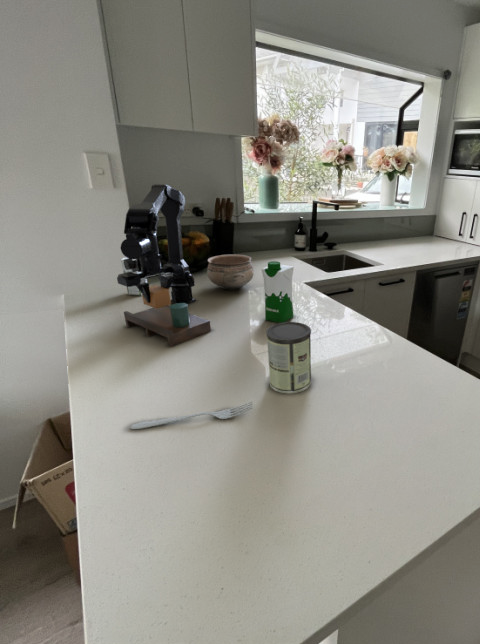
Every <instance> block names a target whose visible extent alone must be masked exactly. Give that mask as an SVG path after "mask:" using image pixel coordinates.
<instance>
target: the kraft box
mask: <svg viewBox="0 0 480 644" xmlns="http://www.w3.org/2000/svg"><path fill="white" fill-rule="evenodd" d="M149 290H150V303H148V302H147V301H146V299H145V298H144V296H143V295H141V296H142V301H143V305H146V306H148V307H151V308H156V309H157V308H161V307H164V306H167V305H168V306H171V305H172V302H171V300H172V299H171V295H170V294H171V293H170V288H169V289H166V288H163V287H161V285H160V286H159V285H157V284H154V285H151V286H150V285H149Z"/></svg>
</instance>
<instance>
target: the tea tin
mask: <svg viewBox="0 0 480 644" xmlns="http://www.w3.org/2000/svg"><path fill="white" fill-rule="evenodd" d="M188 305H189V304H188V303H187V304H186V303H173V304H170V305H169V306H170V312H171V319H172V325H173V326H174V327H185V326H188V325H189V324H190V318H189V313H190V311H189V306H188Z"/></svg>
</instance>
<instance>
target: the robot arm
mask: <svg viewBox="0 0 480 644" xmlns="http://www.w3.org/2000/svg"><path fill="white" fill-rule="evenodd" d="M185 205H186V197H185V196H184V195H183V193H182V192H181V191H180V190H177V189H175V188H173V187H171V186H170V185H168V184H159V183H158V184H157V183H156V184H152V185H151V188H150V191H149V192H148V193H147V195H146V196H145V197H144V198H143V200H142V201H141V202H140V203H137V204H134V205H132V206H130V207H129V208H128V209H127V212H126V214H125V221H124V228H123V234H124V235H125V239H123V241H122V242H121V243H120V247H119V248H120V251H121V253H122V255H123V256H124V258H125V257H127V258H129V259H124V260H123V261H124V266H125V269H126V270H130V269H132V272H136V271H137V272H142V273H139V274H135V273H132V272H127V273H124V272H122V273H119V274H118V275H117V277H116V280H117V284H119V285H121V286H124V287H126V288H127V287H132V286H136V287H137V288H138V289H139V290H140V291H141V293H142V295H143V296H144V298H145V299H146V301H147V302H148V303H150V290H149V287H150V283H149V282H147V283H146V282H145V279H147V280H148V279H151V278H154V277H157V278H158V280H159V283H160V287H163V288H166V289H169V290H170V289H171V291H170V294H171V295H170V296H171V299H170V300H171V303H173V304H176V303H186V304H187V305H188V304H190V303H193V302H197V301H196V299H195V298H194V297H193V296H194V295H193V289H192V287H195V278H194V276H193V274H192V272H191V271H190V267H189V265H188V263H187V262H186V261H185V259H184V251H183V239H182V225H181V218H182V215H183V214H184V213H185ZM159 212H161V214H162V215H163V217H164V218H165V219H164V220H165V229H166V239H167V251H168V261H167V263H165V264H163V265H162V261H161V259H163V254H160V250H159V244H158V237H157V234H158V226H159V221H160V217H159V215H158V213H159ZM132 259H136V260H132ZM142 295H141V296H142Z"/></svg>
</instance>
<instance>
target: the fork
mask: <svg viewBox="0 0 480 644" xmlns="http://www.w3.org/2000/svg"><path fill="white" fill-rule="evenodd" d="M252 409H253V401H249V402H247V403H243V404H241V405H239V406H235V407H230V408H226V409H223V410H219V411H204V412H197V413H193V414H187V415H182V416H176V417H169V418H168V417H167V418H162V419H156V420H148V421H141V422H137V423H134V424H132V425H131V426H129V428H130V429H131V430H142V429H147V428H152V427H156V426H160V425H166V424H170V423H174V422H178V421H183V420H187V419H190V418H191V419H192V418H196V417H200V416H205V415H206V416H212V417H215V418H217V419H220V420H227V419H231V418H233V417H237V416H239V415H241V414H243V413H246V412H248V411H250V410H252Z"/></svg>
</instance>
